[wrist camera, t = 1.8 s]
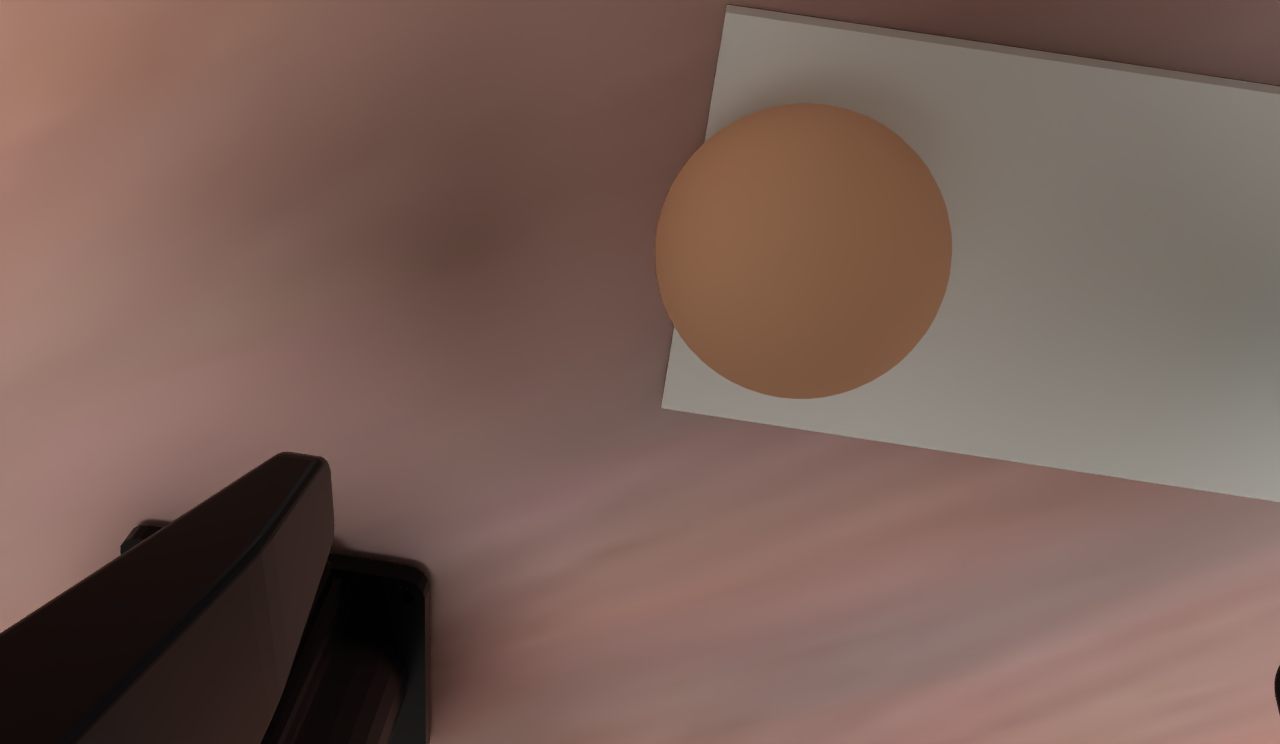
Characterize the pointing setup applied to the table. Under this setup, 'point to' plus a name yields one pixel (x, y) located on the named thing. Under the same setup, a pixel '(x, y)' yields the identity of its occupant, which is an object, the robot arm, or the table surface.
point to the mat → (1050, 254)
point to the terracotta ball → (803, 251)
